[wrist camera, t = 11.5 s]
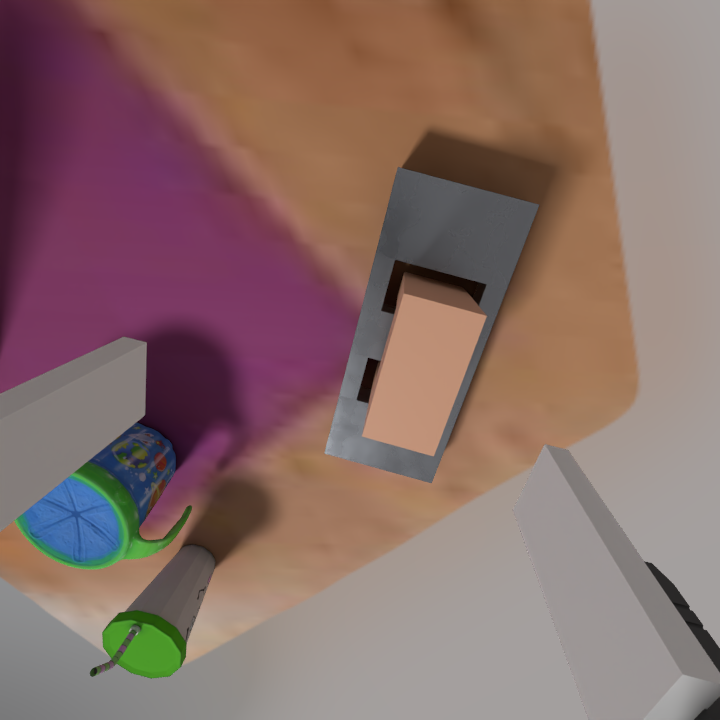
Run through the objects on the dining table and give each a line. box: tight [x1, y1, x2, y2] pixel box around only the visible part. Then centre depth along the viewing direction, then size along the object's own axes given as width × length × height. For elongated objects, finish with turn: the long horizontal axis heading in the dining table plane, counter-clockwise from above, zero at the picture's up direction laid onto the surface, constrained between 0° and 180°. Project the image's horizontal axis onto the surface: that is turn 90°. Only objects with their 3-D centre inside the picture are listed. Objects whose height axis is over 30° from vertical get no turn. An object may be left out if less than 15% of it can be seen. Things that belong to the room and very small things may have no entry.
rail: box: [325, 167, 539, 483], centre depth 33 cm, size 24×10×3 cm, turn 166°
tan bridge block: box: [362, 272, 487, 456], centre depth 29 cm, size 10×5×10 cm, turn 166°
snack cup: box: [14, 423, 192, 569], centre depth 37 cm, size 16×10×10 cm
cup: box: [90, 544, 215, 678], centre depth 39 cm, size 8×8×15 cm
